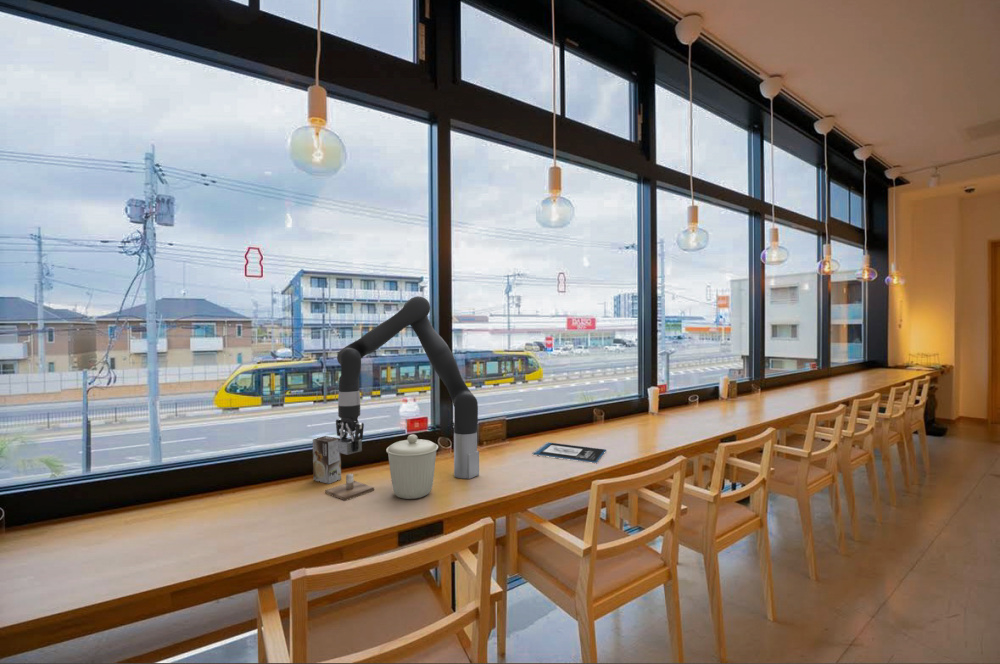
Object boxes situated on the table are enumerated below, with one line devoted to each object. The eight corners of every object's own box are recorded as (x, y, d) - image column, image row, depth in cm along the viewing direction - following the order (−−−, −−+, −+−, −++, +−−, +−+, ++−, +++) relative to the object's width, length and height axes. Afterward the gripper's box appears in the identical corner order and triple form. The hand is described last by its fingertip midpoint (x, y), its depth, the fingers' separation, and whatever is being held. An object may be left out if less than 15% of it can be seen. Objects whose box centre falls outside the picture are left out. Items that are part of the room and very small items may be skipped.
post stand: (374, 490, 158) (374, 473, 158) (344, 500, 148) (344, 483, 148) (354, 483, 165) (354, 467, 165) (325, 492, 155) (325, 476, 155)
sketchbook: (596, 465, 187) (596, 460, 187) (531, 456, 200) (531, 452, 200) (606, 452, 207) (606, 447, 207) (546, 445, 220) (546, 440, 220)
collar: (361, 451, 157) (361, 439, 157) (347, 454, 152) (347, 443, 152) (352, 448, 161) (351, 437, 161) (337, 452, 156) (337, 440, 156)
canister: (427, 506, 143) (427, 442, 143) (377, 501, 147) (376, 439, 147) (445, 486, 161) (445, 429, 161) (399, 483, 165) (399, 427, 164)
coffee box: (342, 479, 170) (341, 438, 169) (328, 484, 164) (328, 441, 164) (325, 475, 174) (325, 435, 174) (312, 480, 168) (311, 439, 168)
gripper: (370, 403, 155) (370, 450, 155) (346, 400, 164) (347, 444, 164) (352, 407, 149) (352, 455, 149) (328, 402, 158) (329, 449, 158)
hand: (349, 449), depth 156 cm, fingers closed on collar, 6 cm apart
